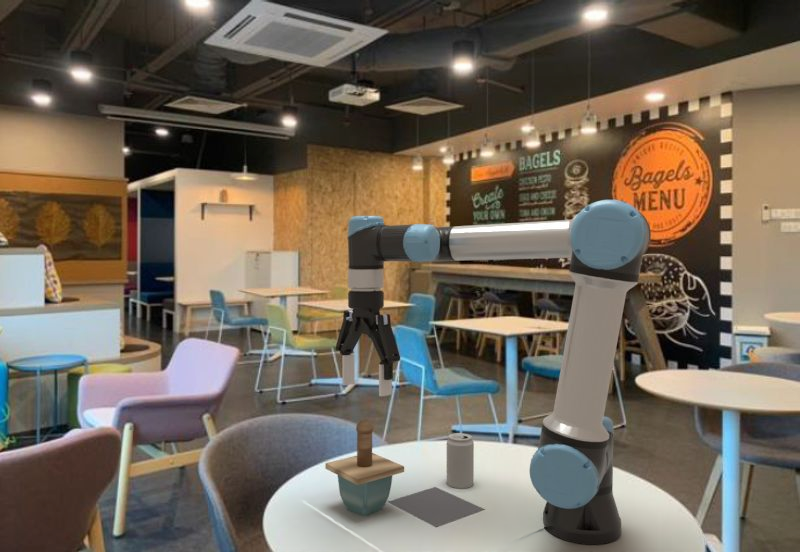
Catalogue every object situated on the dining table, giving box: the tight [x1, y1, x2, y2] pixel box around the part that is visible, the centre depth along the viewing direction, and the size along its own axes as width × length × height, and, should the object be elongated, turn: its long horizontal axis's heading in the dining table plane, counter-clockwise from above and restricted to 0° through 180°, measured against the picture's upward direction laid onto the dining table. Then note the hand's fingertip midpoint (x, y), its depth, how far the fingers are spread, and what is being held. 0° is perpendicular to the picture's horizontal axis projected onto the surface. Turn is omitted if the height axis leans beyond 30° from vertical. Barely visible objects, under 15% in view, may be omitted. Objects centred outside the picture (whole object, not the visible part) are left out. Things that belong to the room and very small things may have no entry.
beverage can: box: [446, 432, 475, 490], centre depth 144 cm, size 6×6×12 cm
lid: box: [324, 419, 405, 485], centre depth 129 cm, size 12×12×11 cm
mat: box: [387, 486, 486, 528], centre depth 132 cm, size 16×14×1 cm
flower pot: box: [337, 475, 394, 517], centre depth 130 cm, size 9×9×9 cm
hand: (366, 389), depth 129 cm, fingers open, 13 cm apart
